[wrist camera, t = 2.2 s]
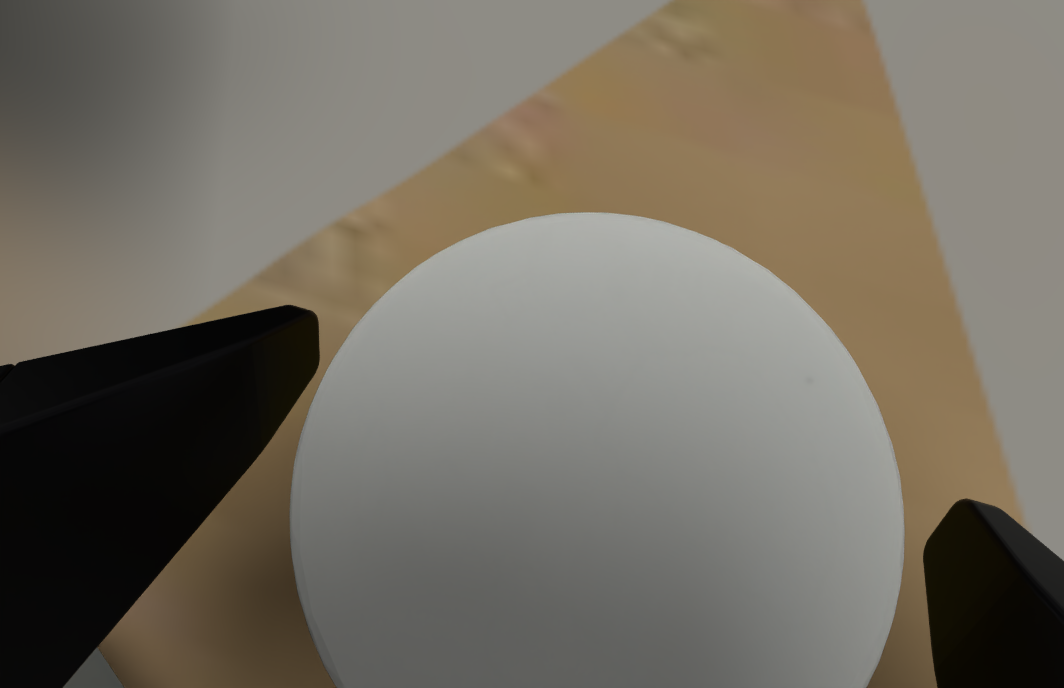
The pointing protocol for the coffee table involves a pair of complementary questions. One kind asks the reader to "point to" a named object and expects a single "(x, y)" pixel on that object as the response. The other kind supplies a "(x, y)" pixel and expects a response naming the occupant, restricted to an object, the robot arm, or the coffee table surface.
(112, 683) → the blue-grey block
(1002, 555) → the robot arm
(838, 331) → the coffee table surface
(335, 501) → the pill bottle
